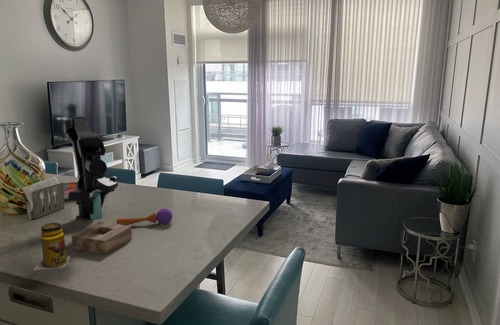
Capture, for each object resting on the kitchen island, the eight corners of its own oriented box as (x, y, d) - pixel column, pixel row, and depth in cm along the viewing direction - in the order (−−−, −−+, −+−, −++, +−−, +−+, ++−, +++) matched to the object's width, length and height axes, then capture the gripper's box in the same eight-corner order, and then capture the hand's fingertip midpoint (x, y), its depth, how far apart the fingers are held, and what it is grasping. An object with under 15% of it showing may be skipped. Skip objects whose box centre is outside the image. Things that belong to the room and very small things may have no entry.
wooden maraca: (117, 213, 142) (171, 206, 146) (119, 229, 143) (173, 221, 146) (115, 216, 137) (171, 208, 140) (117, 232, 137) (173, 224, 141)
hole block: (72, 248, 121) (71, 235, 120) (100, 233, 133) (99, 221, 132) (106, 254, 117) (104, 241, 116) (131, 238, 129) (131, 226, 128)
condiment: (65, 267, 109) (60, 228, 106) (32, 271, 107) (27, 231, 105) (70, 256, 116) (66, 219, 113) (40, 259, 114) (35, 222, 112)
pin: (88, 218, 137) (85, 195, 135) (95, 215, 140) (93, 192, 138) (97, 220, 135) (94, 196, 133) (104, 216, 139) (102, 193, 137)
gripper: (91, 178, 123) (95, 223, 126) (127, 166, 140) (130, 206, 143) (64, 176, 126) (69, 220, 130) (103, 164, 144) (106, 203, 147)
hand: (95, 212), depth 137 cm, fingers closed on pin, 4 cm apart
